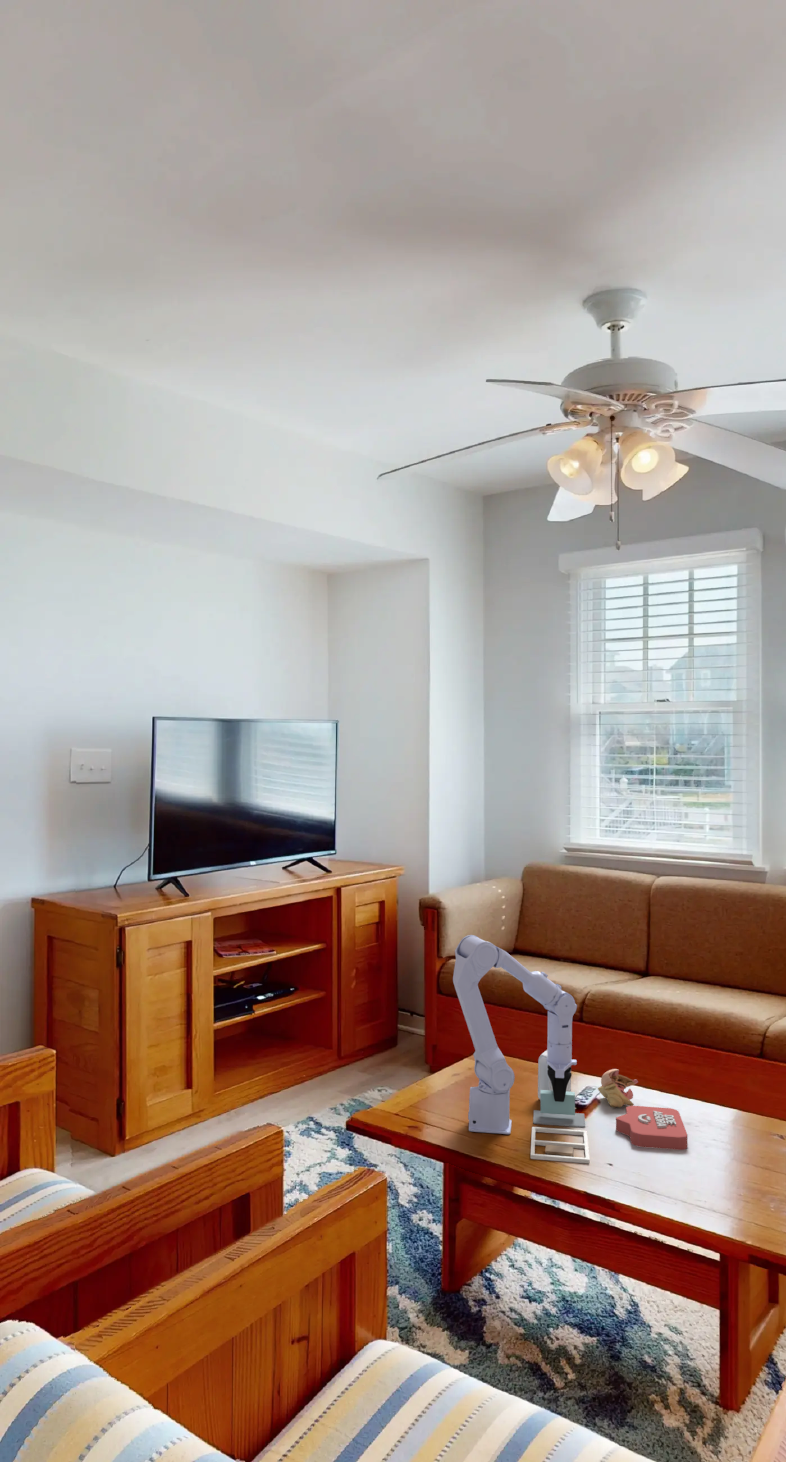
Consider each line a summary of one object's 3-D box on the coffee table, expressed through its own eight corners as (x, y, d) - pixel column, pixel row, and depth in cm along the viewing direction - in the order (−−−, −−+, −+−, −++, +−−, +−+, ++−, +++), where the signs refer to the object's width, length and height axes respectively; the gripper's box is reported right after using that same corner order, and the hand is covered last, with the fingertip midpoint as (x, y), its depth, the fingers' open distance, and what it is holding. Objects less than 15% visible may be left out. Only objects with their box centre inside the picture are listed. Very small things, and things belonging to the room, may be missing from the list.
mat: (533, 1123, 224) (533, 1122, 224) (533, 1111, 232) (533, 1110, 232) (585, 1127, 223) (585, 1126, 223) (584, 1115, 230) (584, 1113, 230)
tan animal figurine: (633, 1116, 232) (605, 1087, 232) (607, 1123, 239) (580, 1096, 239) (647, 1087, 238) (620, 1059, 238) (622, 1095, 245) (595, 1068, 246)
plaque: (613, 1101, 230) (677, 1106, 228) (613, 1117, 230) (677, 1122, 228) (619, 1130, 213) (688, 1135, 210) (618, 1147, 213) (688, 1153, 210)
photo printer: (559, 1090, 248) (559, 1042, 248) (573, 1094, 244) (573, 1045, 245) (535, 1099, 240) (535, 1050, 241) (549, 1104, 237) (549, 1054, 238)
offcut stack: (545, 1158, 207) (545, 1150, 207) (545, 1151, 210) (545, 1144, 210) (573, 1160, 205) (573, 1153, 205) (573, 1154, 209) (574, 1147, 209)
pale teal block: (540, 1113, 227) (540, 1093, 227) (540, 1109, 229) (540, 1089, 230) (574, 1115, 226) (574, 1095, 226) (574, 1111, 228) (574, 1092, 228)
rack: (530, 1158, 205) (530, 1155, 205) (532, 1130, 221) (532, 1126, 221) (589, 1163, 203) (589, 1159, 203) (586, 1134, 219) (586, 1130, 219)
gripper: (577, 1051, 220) (577, 1111, 220) (575, 1033, 234) (575, 1089, 234) (546, 1049, 221) (546, 1109, 221) (546, 1032, 236) (546, 1087, 235)
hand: (559, 1099), depth 228 cm, fingers closed on pale teal block, 2 cm apart
